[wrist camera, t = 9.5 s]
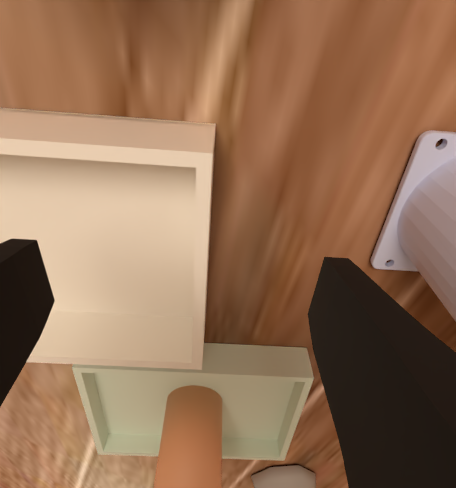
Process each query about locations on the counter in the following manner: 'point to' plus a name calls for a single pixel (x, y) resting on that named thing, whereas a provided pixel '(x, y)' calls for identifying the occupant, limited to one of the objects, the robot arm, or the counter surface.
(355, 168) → the counter surface
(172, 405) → the peg
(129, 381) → the tray
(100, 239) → the box
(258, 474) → the flask
